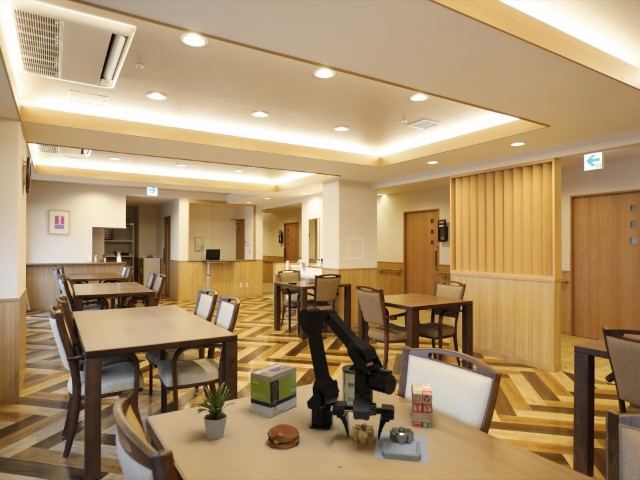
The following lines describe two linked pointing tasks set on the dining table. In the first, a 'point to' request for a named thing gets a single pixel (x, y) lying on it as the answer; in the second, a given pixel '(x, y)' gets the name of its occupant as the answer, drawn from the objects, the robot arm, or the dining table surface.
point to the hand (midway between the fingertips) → (363, 438)
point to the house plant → (214, 413)
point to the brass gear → (363, 433)
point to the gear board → (402, 449)
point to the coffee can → (348, 385)
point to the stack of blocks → (421, 404)
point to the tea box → (273, 390)
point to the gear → (401, 435)
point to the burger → (283, 436)
